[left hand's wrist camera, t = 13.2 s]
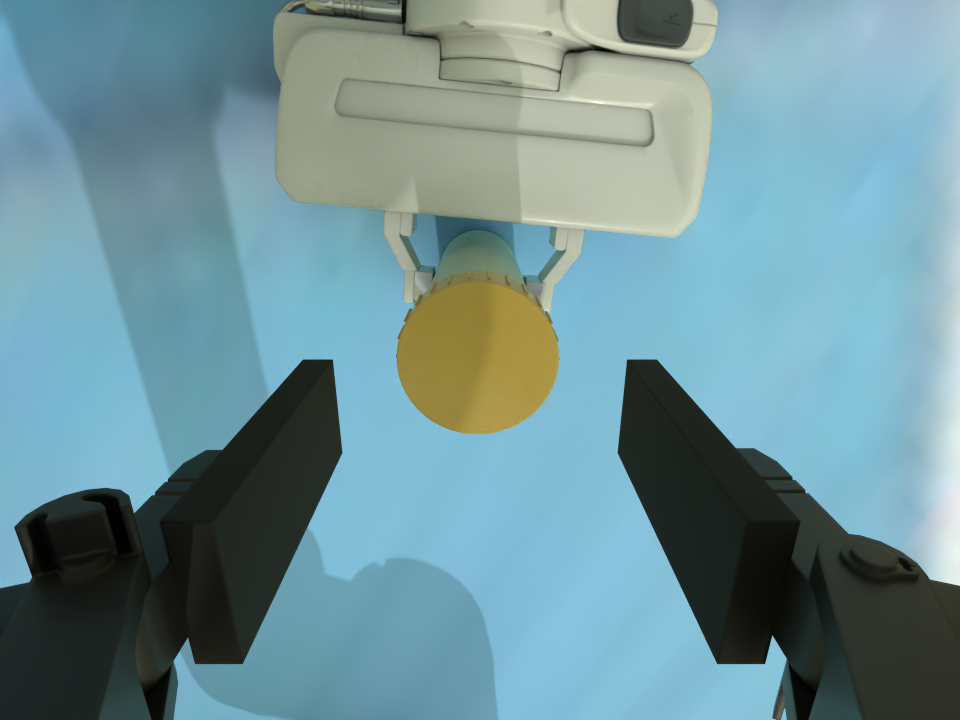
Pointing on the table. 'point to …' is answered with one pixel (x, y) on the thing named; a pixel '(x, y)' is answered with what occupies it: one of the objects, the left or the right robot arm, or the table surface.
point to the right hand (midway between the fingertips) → (477, 306)
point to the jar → (478, 256)
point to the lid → (477, 353)
